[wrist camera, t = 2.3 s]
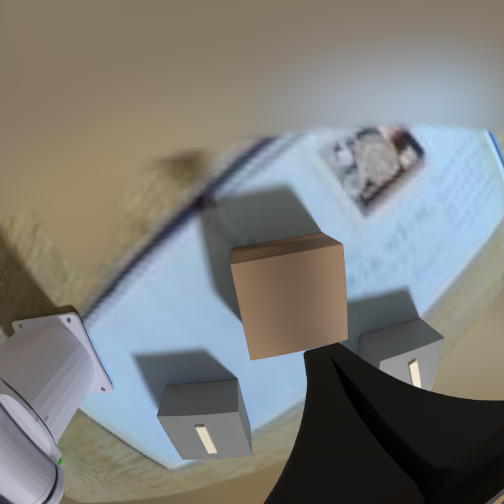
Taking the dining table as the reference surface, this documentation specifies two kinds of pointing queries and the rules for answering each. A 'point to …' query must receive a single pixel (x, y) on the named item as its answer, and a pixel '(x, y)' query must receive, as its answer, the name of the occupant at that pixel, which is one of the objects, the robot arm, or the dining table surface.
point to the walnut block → (291, 294)
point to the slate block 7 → (405, 352)
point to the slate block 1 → (206, 420)
